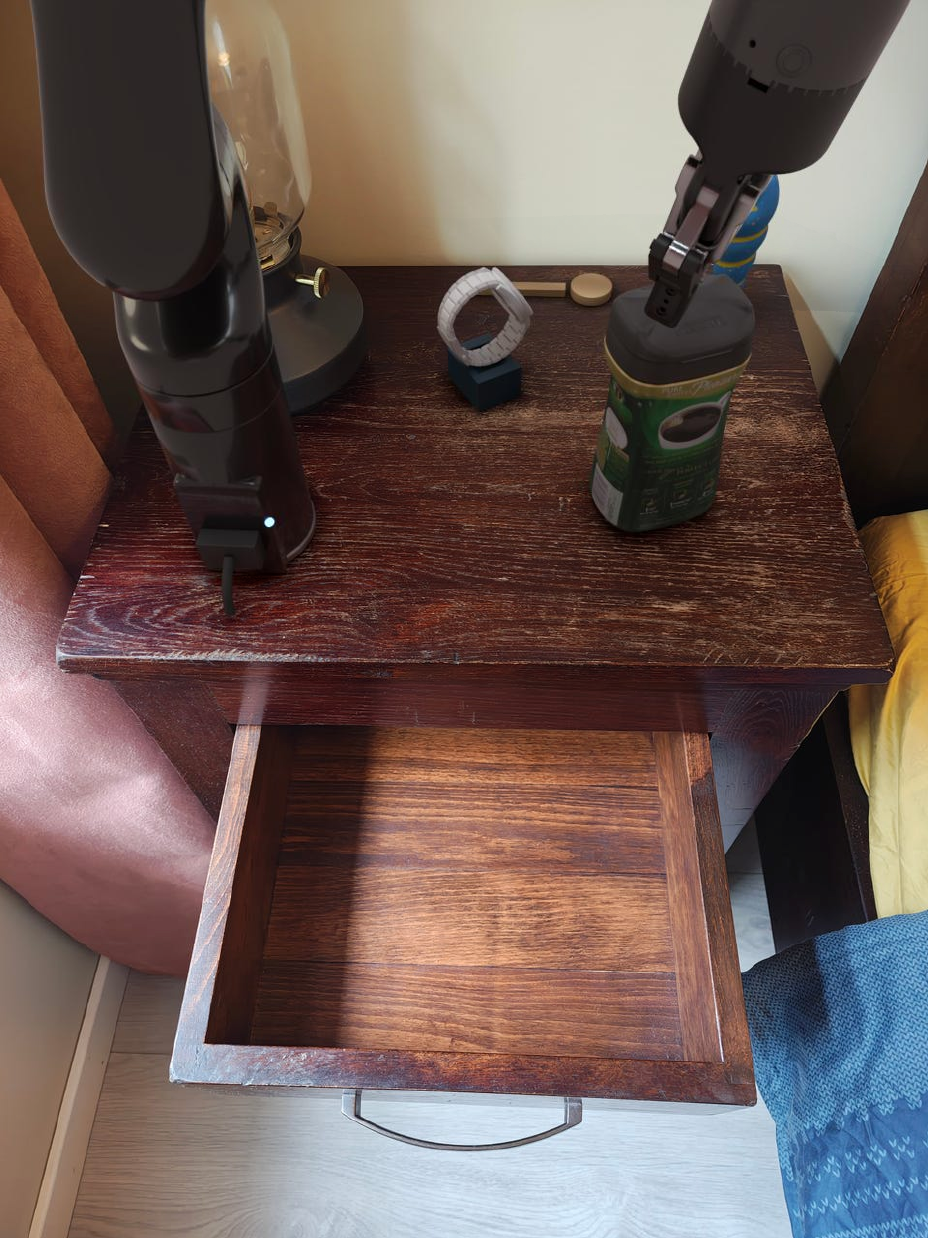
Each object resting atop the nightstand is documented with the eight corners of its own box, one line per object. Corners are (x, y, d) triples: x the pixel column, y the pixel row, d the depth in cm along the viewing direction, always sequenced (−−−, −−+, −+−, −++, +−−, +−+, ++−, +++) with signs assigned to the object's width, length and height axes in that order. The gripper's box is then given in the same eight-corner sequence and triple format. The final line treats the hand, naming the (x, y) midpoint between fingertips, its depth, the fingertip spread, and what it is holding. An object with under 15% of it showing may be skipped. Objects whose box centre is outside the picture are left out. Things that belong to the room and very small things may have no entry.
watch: (539, 387, 82) (545, 278, 73) (461, 419, 79) (456, 310, 71) (507, 353, 84) (509, 244, 76) (431, 382, 82) (423, 274, 73)
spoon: (611, 306, 88) (612, 297, 87) (472, 303, 89) (472, 294, 88) (610, 282, 90) (611, 273, 90) (475, 279, 91) (475, 270, 91)
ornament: (683, 310, 87) (714, 154, 75) (714, 286, 90) (748, 130, 77) (729, 332, 85) (768, 176, 73) (759, 307, 87) (802, 150, 75)
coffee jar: (681, 449, 76) (726, 247, 61) (725, 516, 72) (786, 315, 57) (574, 477, 75) (593, 276, 60) (612, 547, 70) (643, 349, 55)
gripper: (772, -81, 42) (652, 222, 58) (656, 62, 36) (558, 355, 52) (920, -11, 41) (758, 277, 57) (825, 146, 36) (674, 418, 51)
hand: (662, 314), depth 54 cm, fingers closed
